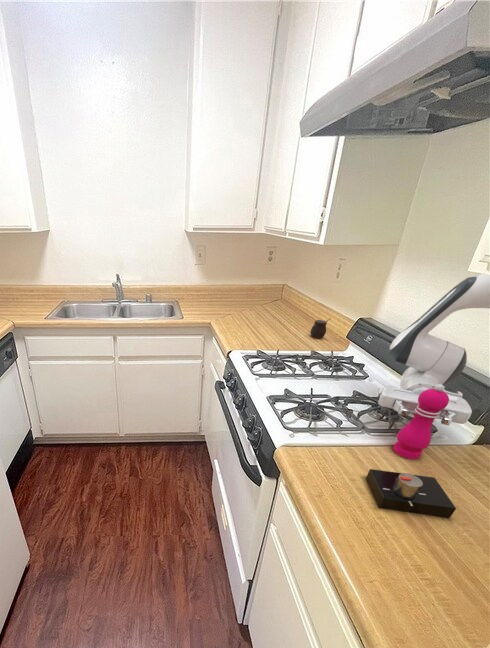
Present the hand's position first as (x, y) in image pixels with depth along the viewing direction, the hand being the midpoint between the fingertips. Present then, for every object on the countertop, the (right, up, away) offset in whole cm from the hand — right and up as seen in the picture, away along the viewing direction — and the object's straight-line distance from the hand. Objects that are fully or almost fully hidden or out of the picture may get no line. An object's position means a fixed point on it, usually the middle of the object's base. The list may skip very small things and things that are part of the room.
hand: (424, 417), depth 87 cm
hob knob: (-13, -17, -12) cm, 24 cm away
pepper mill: (0, -9, +6) cm, 11 cm away
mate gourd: (+12, +44, +88) cm, 99 cm away
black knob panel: (-11, -18, -9) cm, 23 cm away
